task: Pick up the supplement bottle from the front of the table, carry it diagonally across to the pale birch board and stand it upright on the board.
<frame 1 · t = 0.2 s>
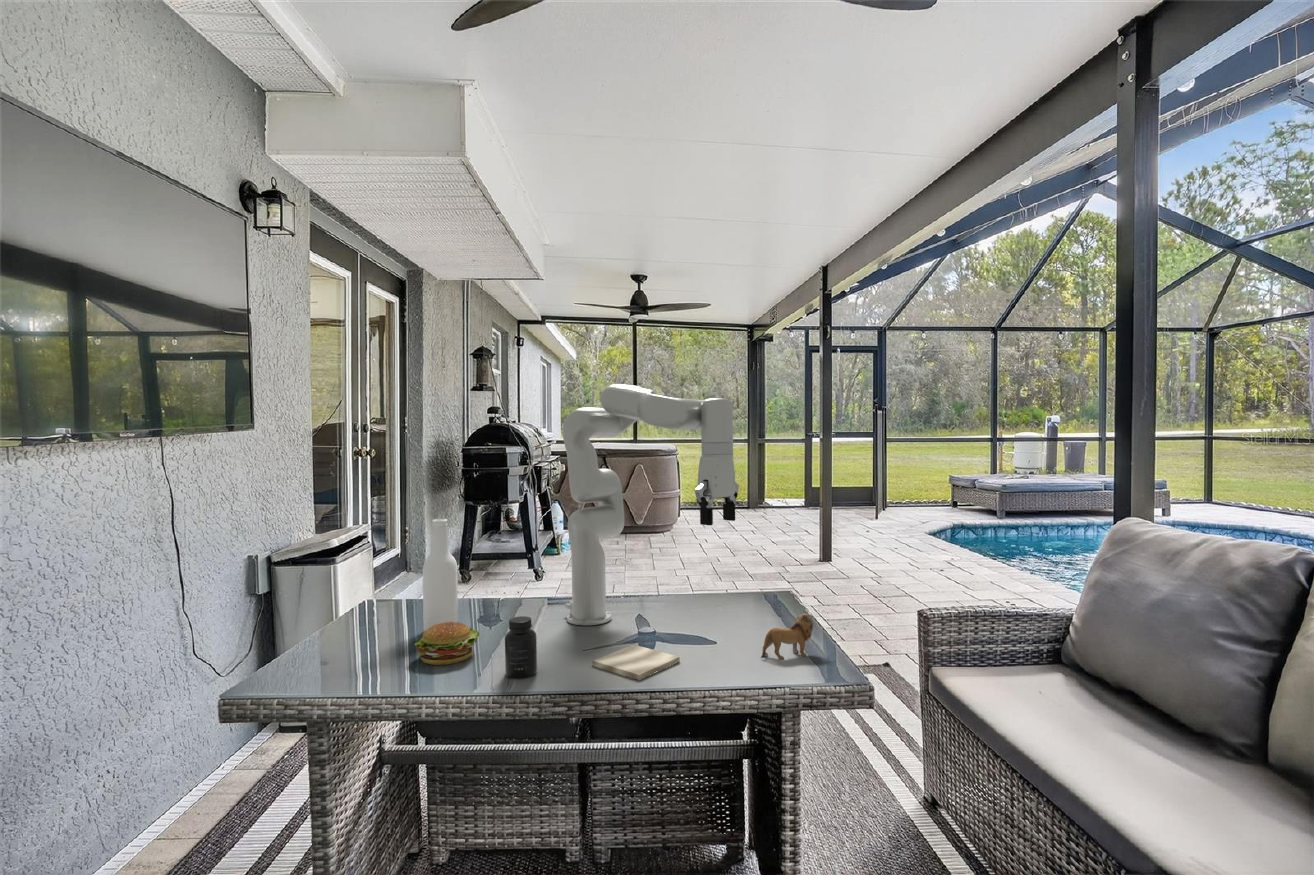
hand: (718, 522, 151), 31 cm above the table, tool pointing down, fingers open, 9 cm apart
birch board: (636, 664, 144), on the table
alcohol: (440, 631, 171), on the table
food: (449, 658, 150), on the table
lion figurine: (788, 655, 150), on the table
supplement bottle: (521, 674, 139), on the table
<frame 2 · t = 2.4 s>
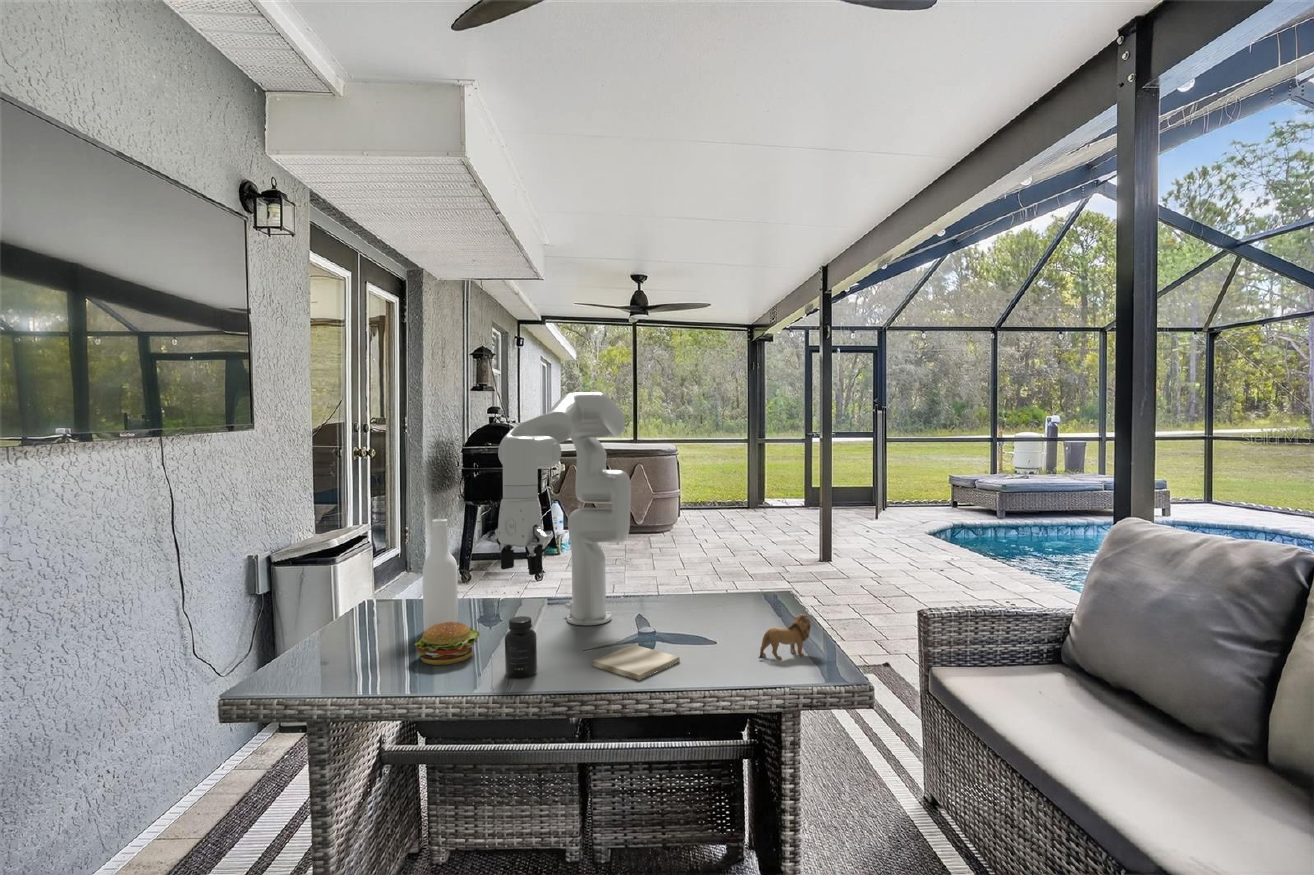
hand: (521, 571, 139), 22 cm above the table, tool pointing down, fingers open, 9 cm apart
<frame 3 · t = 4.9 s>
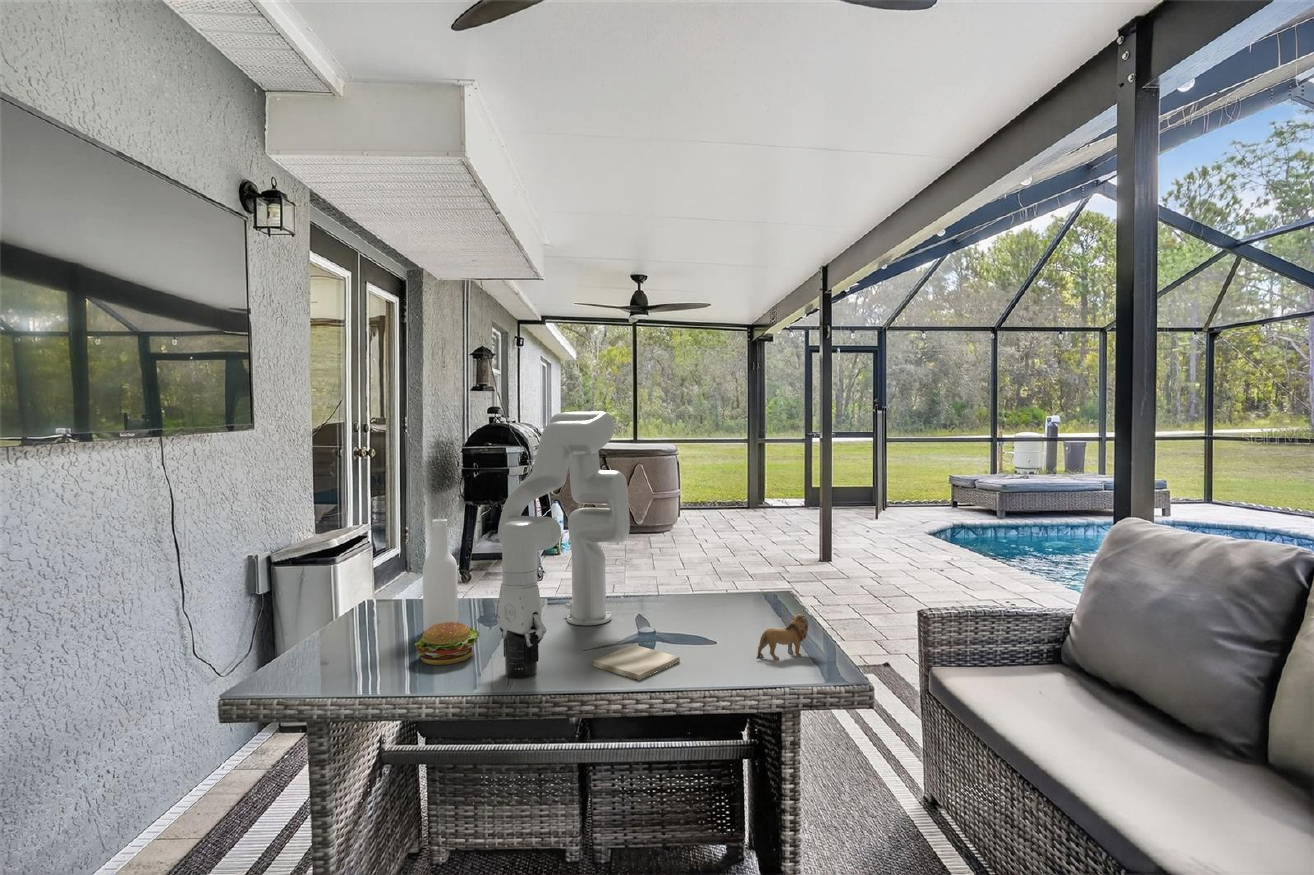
hand: (520, 658, 139), 3 cm above the table, tool pointing down, fingers closed on supplement bottle, 6 cm apart
supplement bottle: (521, 674, 139), on the table, touching gripper
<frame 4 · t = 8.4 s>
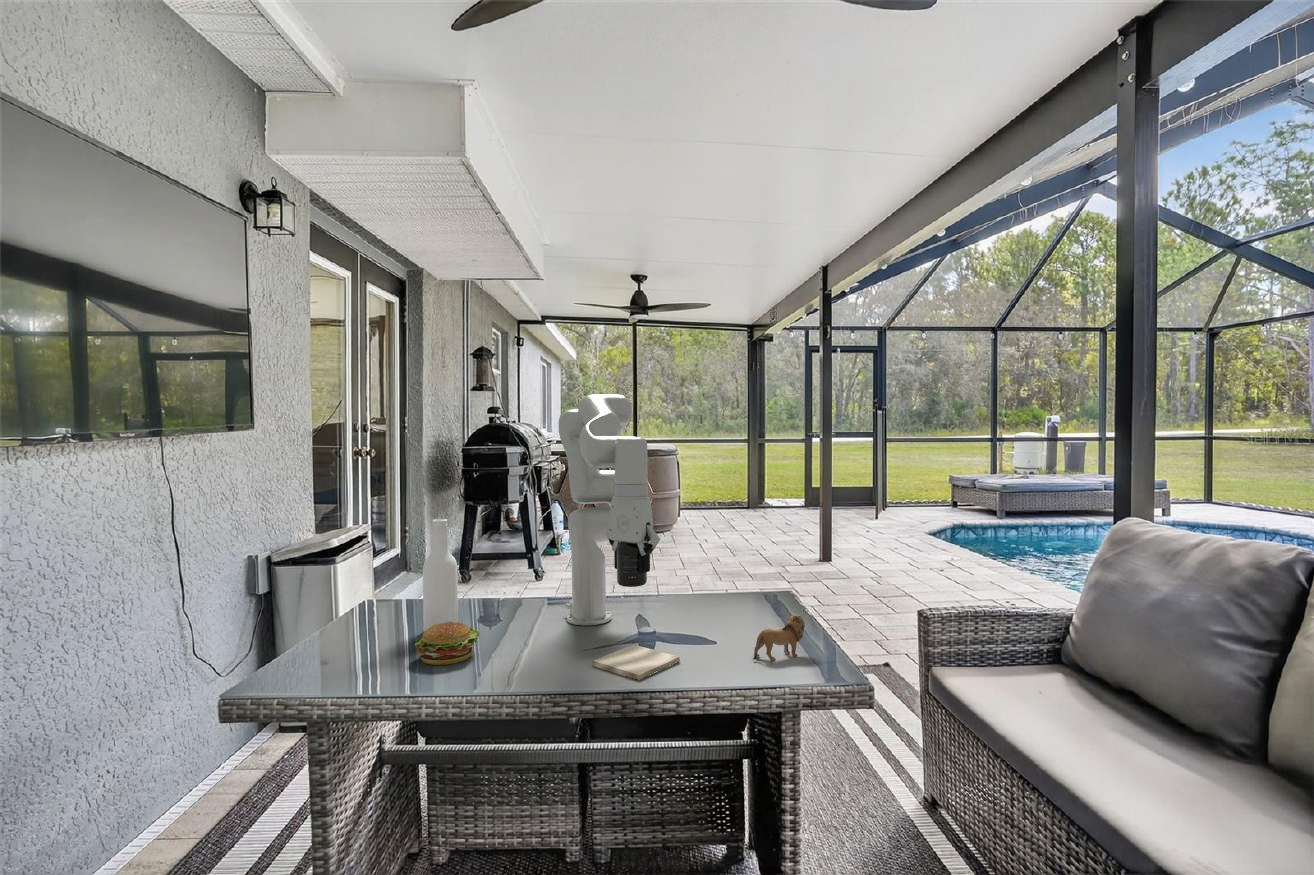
hand: (632, 569, 144), 22 cm above the table, tool pointing down, fingers closed on supplement bottle, 6 cm apart
supplement bottle: (631, 584, 144), point 18 cm above the table, touching gripper
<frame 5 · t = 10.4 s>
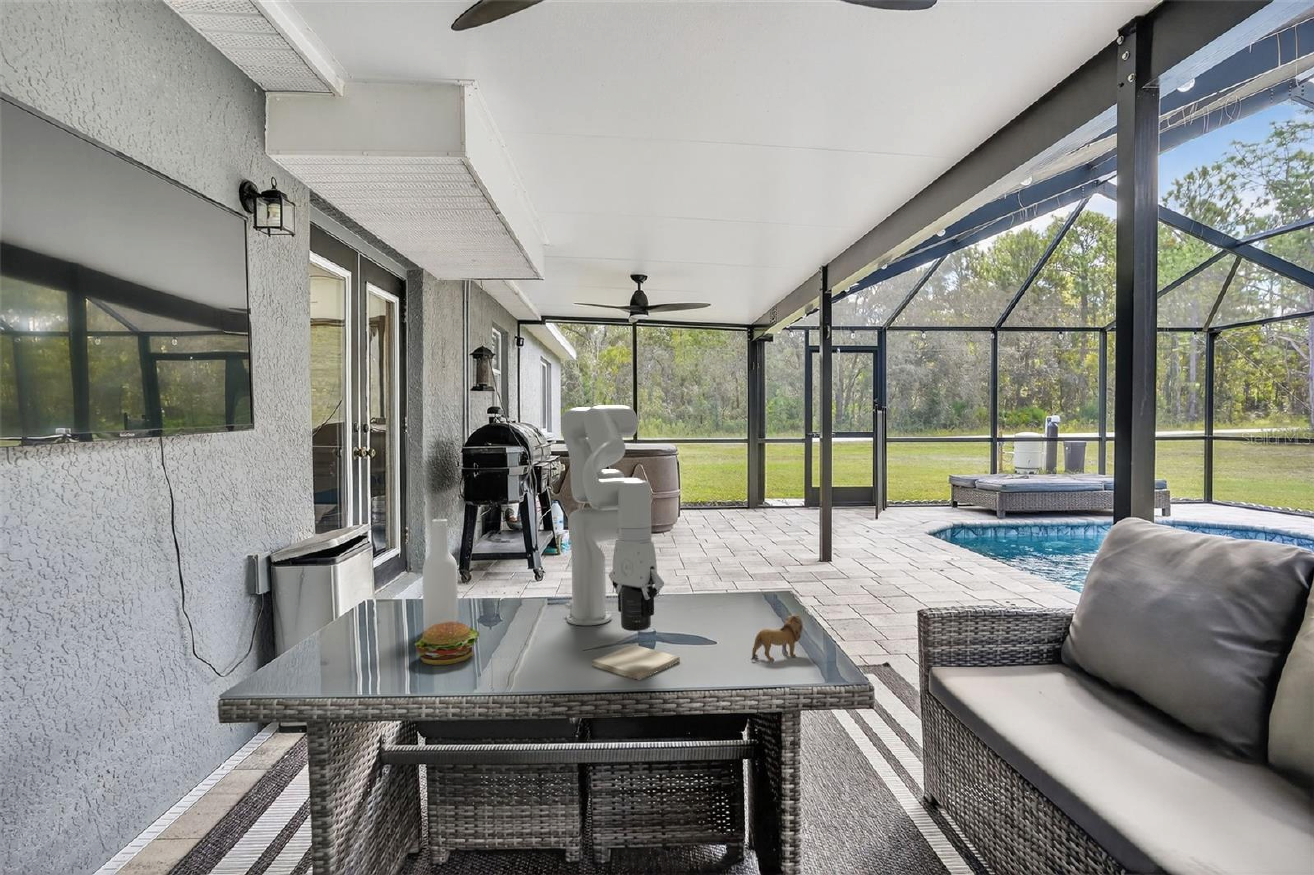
hand: (635, 612, 144), 12 cm above the table, tool pointing down, fingers closed on supplement bottle, 6 cm apart
supplement bottle: (635, 628, 144), point 8 cm above the table, touching gripper
when the fingers open (6 cm above the table, at t = 12.1 s): supplement bottle drops 1 cm, resting on birch board.
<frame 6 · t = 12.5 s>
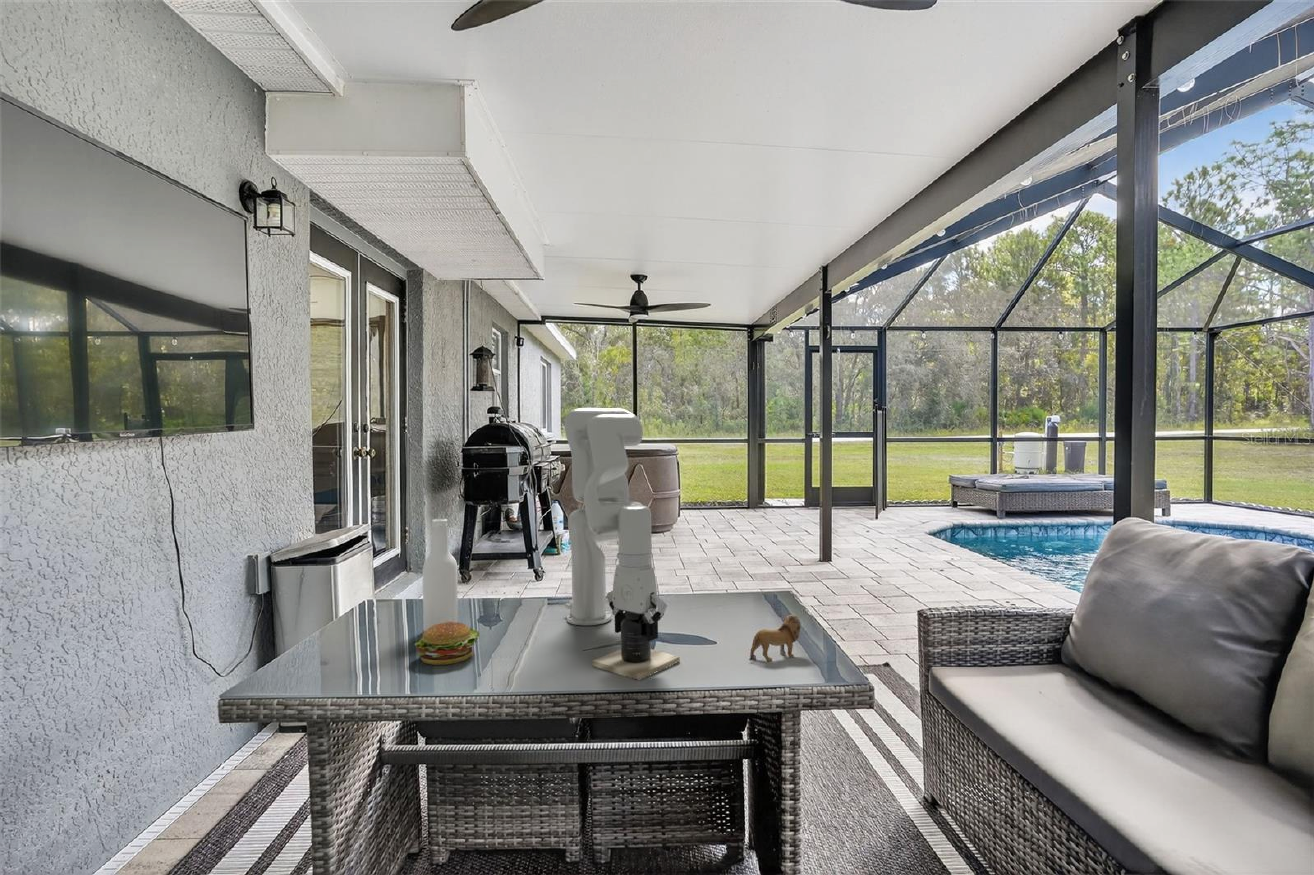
hand: (636, 635, 144), 6 cm above the table, tool pointing down, fingers open, 9 cm apart
supplement bottle: (636, 659, 144), point 1 cm above the table, touching birch board
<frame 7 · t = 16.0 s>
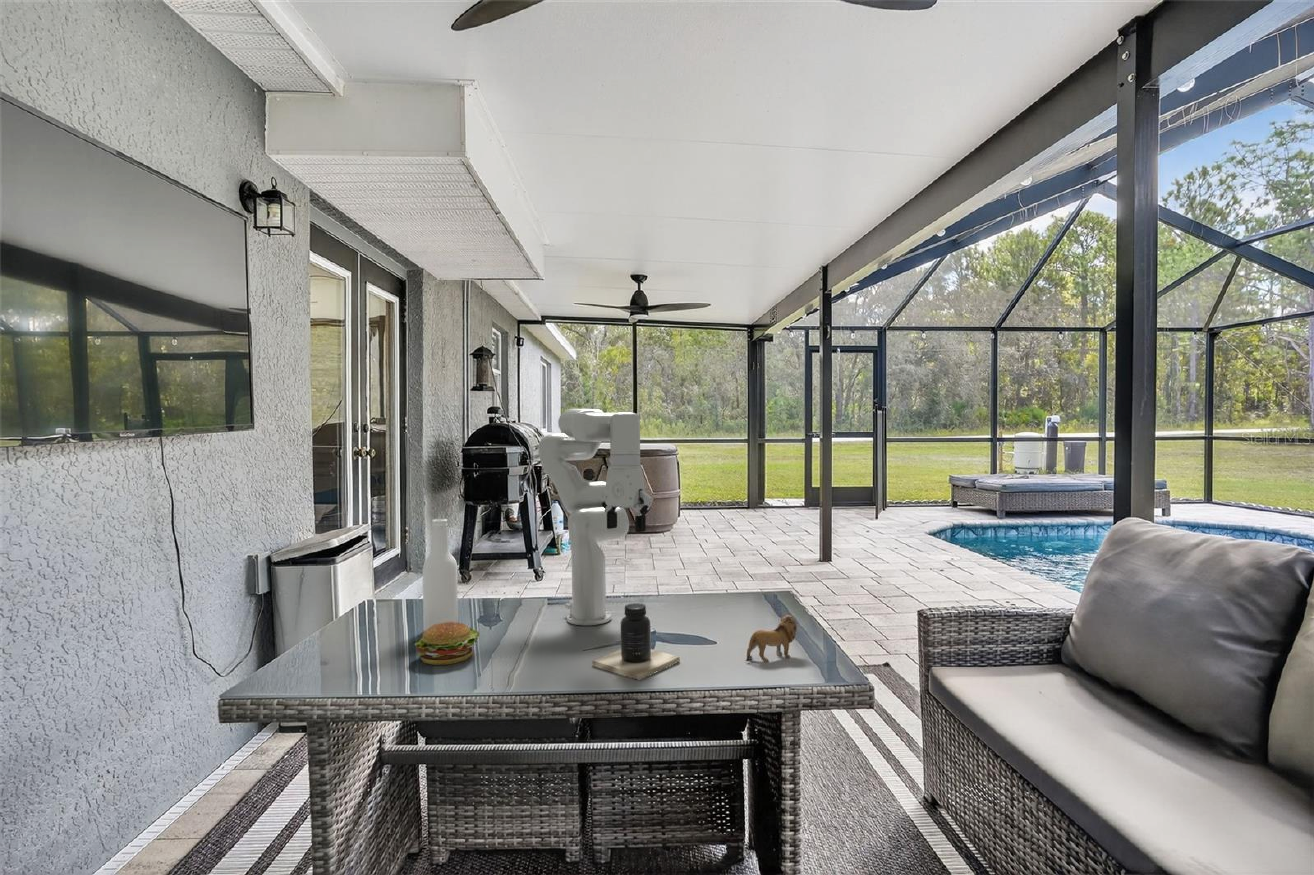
hand: (626, 529, 160), 28 cm above the table, tool pointing down, fingers open, 9 cm apart
at the end: supplement bottle inside the target area on the birch board (0.2 cm from its centre), point 1.0 cm above the birch board's base; supplement bottle tilted 0°; the gripper is holding nothing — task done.
